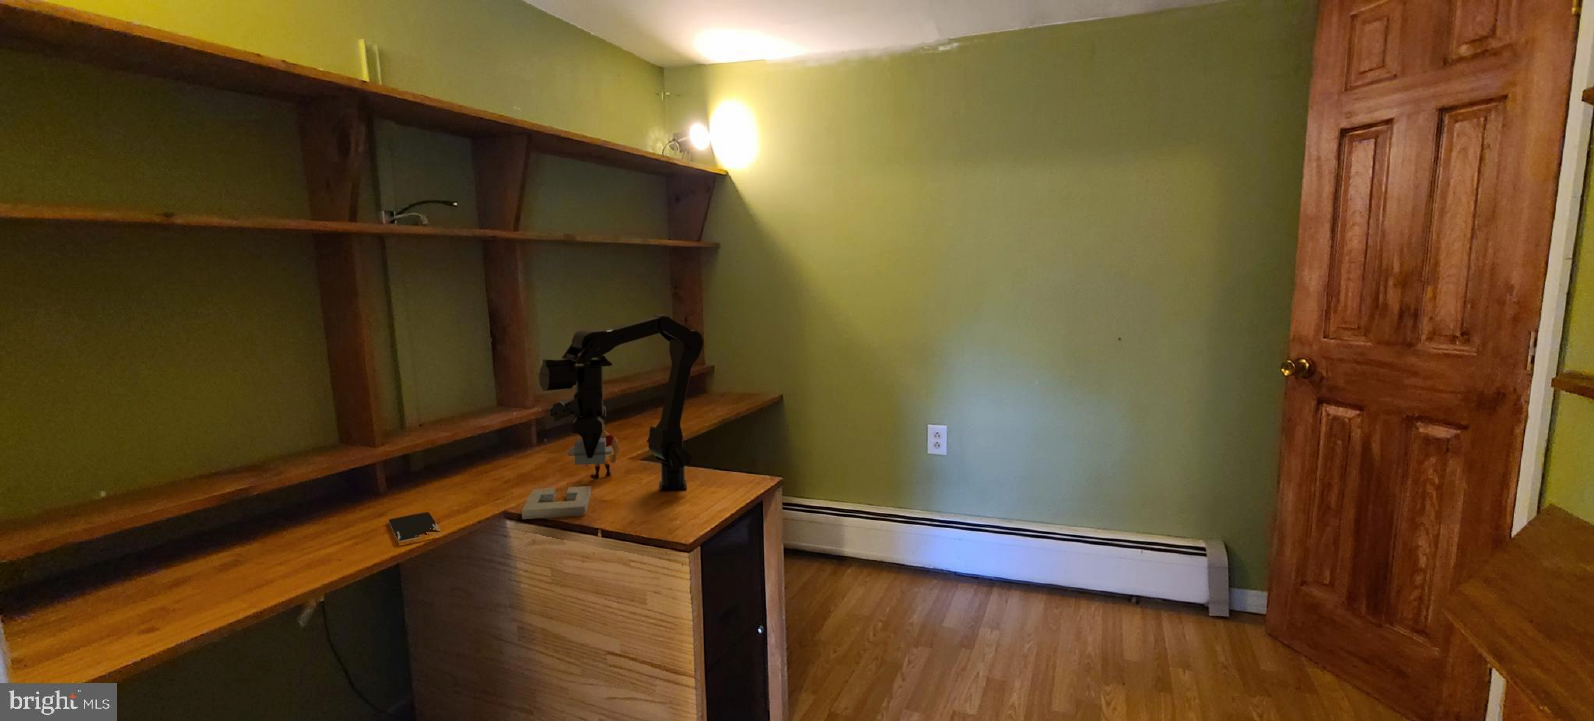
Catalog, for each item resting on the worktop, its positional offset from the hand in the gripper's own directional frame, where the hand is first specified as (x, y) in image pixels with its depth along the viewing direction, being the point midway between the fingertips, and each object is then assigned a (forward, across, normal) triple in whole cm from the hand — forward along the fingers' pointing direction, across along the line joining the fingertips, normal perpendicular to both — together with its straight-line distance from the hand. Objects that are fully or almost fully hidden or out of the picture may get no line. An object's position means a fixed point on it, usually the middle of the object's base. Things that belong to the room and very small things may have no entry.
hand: (590, 455), depth 151 cm
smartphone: (+13, +6, -34) cm, 38 cm away
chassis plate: (+12, -2, -7) cm, 14 cm away
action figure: (+12, -23, +1) cm, 26 cm away
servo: (+2, -2, 0) cm, 2 cm away
